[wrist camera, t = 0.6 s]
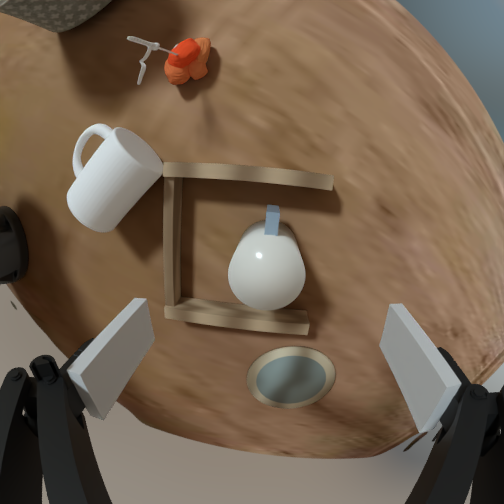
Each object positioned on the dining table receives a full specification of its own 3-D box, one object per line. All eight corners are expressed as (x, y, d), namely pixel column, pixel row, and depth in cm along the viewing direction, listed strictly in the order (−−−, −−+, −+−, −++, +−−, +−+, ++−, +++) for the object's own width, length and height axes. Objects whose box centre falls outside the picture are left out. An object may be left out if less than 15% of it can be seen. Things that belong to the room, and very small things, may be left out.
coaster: (244, 403, 41) (243, 405, 41) (250, 341, 37) (250, 343, 37) (323, 407, 41) (323, 409, 40) (345, 348, 37) (345, 350, 36)
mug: (174, 172, 31) (145, 174, 24) (125, 225, 34) (91, 240, 26) (120, 111, 29) (85, 101, 21) (78, 165, 31) (41, 168, 24)
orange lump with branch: (146, 87, 28) (94, 59, 16) (193, 33, 25) (161, -14, 14) (179, 109, 29) (133, 83, 17) (229, 53, 26) (208, 3, 15)
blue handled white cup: (237, 272, 34) (226, 306, 26) (243, 199, 32) (232, 211, 23) (293, 277, 34) (299, 313, 25) (302, 205, 31) (314, 219, 23)
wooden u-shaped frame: (173, 305, 36) (164, 317, 33) (174, 162, 31) (163, 162, 27) (304, 320, 36) (307, 335, 32) (327, 174, 30) (333, 175, 26)
